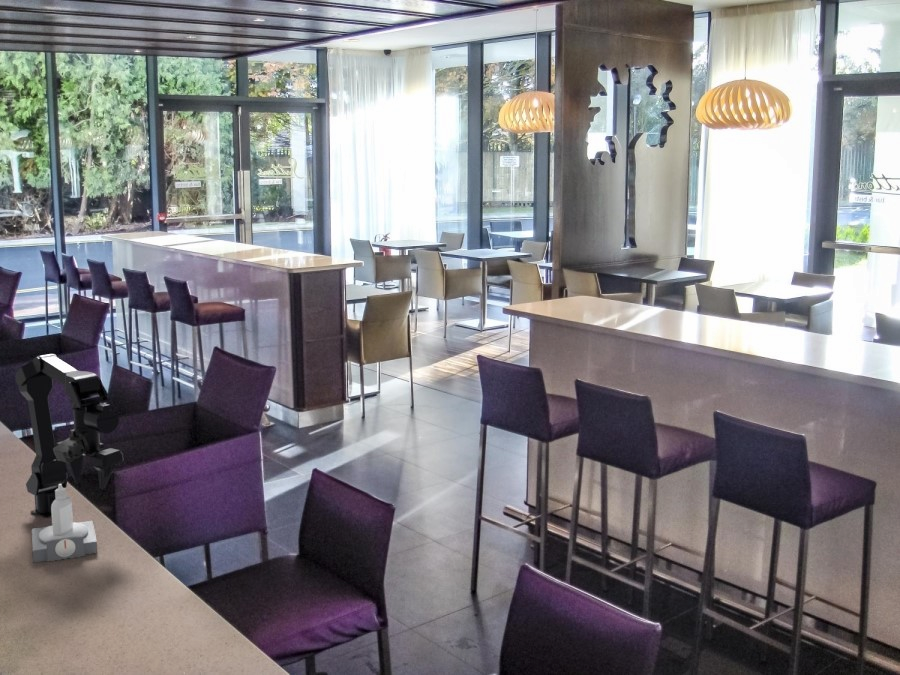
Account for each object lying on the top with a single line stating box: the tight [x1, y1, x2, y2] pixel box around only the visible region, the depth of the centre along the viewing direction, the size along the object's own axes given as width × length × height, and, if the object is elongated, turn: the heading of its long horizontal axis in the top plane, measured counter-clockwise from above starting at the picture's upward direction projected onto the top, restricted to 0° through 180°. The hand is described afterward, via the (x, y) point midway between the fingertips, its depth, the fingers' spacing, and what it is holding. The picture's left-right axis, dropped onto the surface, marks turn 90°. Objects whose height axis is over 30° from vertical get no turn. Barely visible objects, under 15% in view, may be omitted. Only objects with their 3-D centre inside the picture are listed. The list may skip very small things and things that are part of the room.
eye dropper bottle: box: [51, 484, 74, 535], centre depth 225 cm, size 4×6×12 cm
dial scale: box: [31, 520, 98, 564], centre depth 226 cm, size 15×14×5 cm
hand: (89, 485), depth 232 cm, fingers open, 9 cm apart
